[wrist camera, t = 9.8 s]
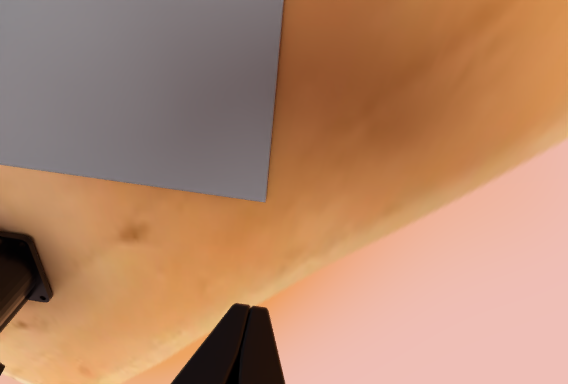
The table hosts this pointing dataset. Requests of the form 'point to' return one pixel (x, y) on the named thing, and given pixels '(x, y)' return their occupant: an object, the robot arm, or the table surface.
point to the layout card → (142, 91)
